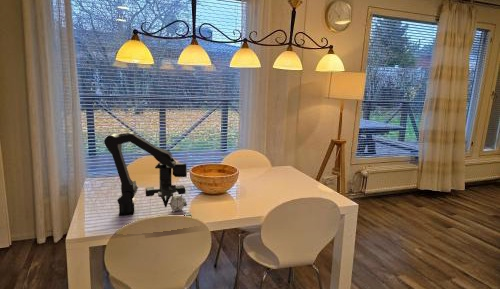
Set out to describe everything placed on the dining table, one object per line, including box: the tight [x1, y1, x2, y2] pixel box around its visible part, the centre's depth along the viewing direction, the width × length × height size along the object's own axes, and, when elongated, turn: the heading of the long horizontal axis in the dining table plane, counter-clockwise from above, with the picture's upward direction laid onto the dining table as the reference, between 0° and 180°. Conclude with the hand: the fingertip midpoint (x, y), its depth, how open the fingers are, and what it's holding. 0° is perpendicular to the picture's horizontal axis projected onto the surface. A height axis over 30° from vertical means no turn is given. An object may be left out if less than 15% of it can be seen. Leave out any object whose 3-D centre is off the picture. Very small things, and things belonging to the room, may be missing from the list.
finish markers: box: [182, 196, 192, 217], centre depth 171 cm, size 3×25×2 cm, turn 19°
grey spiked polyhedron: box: [168, 194, 187, 213], centre depth 167 cm, size 9×8×10 cm
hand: (165, 207), depth 166 cm, fingers closed
